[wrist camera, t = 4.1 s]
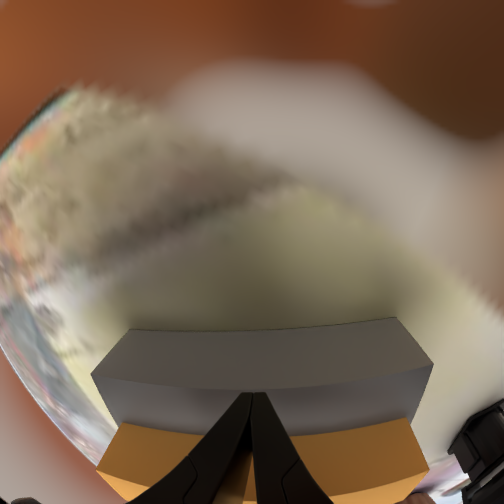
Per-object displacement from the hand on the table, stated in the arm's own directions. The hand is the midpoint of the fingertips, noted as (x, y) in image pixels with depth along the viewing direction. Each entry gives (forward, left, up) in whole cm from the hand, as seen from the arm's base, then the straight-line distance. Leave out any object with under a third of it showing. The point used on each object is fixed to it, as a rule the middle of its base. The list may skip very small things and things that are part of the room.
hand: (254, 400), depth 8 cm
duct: (0, +12, -5) cm, 13 cm away
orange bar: (0, +5, -1) cm, 5 cm away
